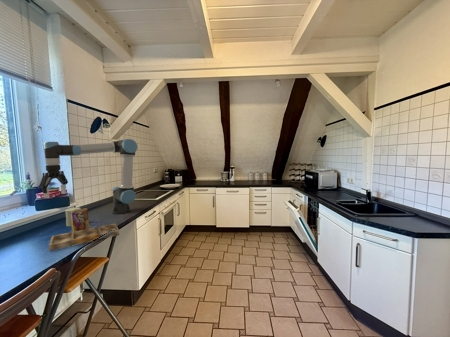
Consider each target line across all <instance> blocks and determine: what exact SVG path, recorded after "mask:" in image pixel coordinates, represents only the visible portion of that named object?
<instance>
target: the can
mask: <svg viewBox="0 0 450 337" xmlns="http://www.w3.org/2000/svg"><path fill="white" fill-rule="evenodd" d="M79 209H82V208H81V207H70V208H67V209H65V210H64V211H65V219H66V220H65V225H66V227H72V225H71V214H70V211H74V210H79Z"/></svg>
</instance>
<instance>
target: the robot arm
mask: <svg viewBox="0 0 450 337" xmlns="http://www.w3.org/2000/svg"><path fill="white" fill-rule="evenodd" d="M137 150H138V143H137V142H136V141H135V140H134V139H132V138H124V139H121V140H117V141H111V142H103V143H102V142H101V143H89V144H85V143H84V144H60V143H59V142H58V141H45V142H44V143H43V152H44V159H45V160H44V162H45V171H47V172H43V173H42V177H41V181H40V183H39V186H38V189H39V188H40V189H42V193H43V199H49V198H50V190H49V185H50V183H51V182H52V180H53V179H56V180H57V181H58V182H59V183H60V194H63V195H65V194H66V193H67V190H66V189H67V187H66V186H67V185H68V183H69V181H68V178H67V176H66V175H65V172H64V170H61V156H63V157H65V156H66V157H68V156H75V157H76V156H81V155H90V154H101V153H113V154H115V153H119V155H120V156H121V172H120V173H121V174H120V175H121V176H120V185H119V186H116V187H115V186H114V187H112V195H113V196H112V198H113V199H112V201H113V205H112V209H111V214H112V215H122V214H126V213H129V212H131V205H130V204H131V203H133V202H134V201H135V200H136V197H137V195H136V192H135V186H134V185H133V170H134V169H133V168H134V157H135V156H136V153H137Z"/></svg>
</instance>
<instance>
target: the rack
mask: <svg viewBox="0 0 450 337" xmlns="http://www.w3.org/2000/svg"><path fill="white" fill-rule="evenodd" d="M111 230H115V231H112V233H113V234H112V235H111V236H109V237H108V238H107V239H109V238H112V237H119V236H120V229H119V228H118V225H117V224H116V223H111V224H108V225H107V224H106V225H102V226H97V227H90V228H89V229H86V230H81V231H76V232H72V231H71V232H66V233H59V234H56V235H52V236H51V237H50V240H49V243H48V251H49V252H51V251H56V249H57V250H61V249H65V248H64V247H66V248H69V247H68V246H70V247H73V246H72V245H74V246H78V245H77V244H79V245H81V244H82V245H84V244H86V243H91V242H94V241H93V240H95V239H97V238H99V237H100V236H102V235H104V234H106V233H108V232H109V231H111ZM60 248H61V249H60Z"/></svg>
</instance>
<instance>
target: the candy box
mask: <svg viewBox="0 0 450 337" xmlns="http://www.w3.org/2000/svg"><path fill="white" fill-rule="evenodd" d="M88 211H89V210H88V208H85V207H84V208H81V209H79V210H74V211H70V214H71V225H72V226H71V232H76V231H81V230H86V229H90V223H89V212H88Z"/></svg>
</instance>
